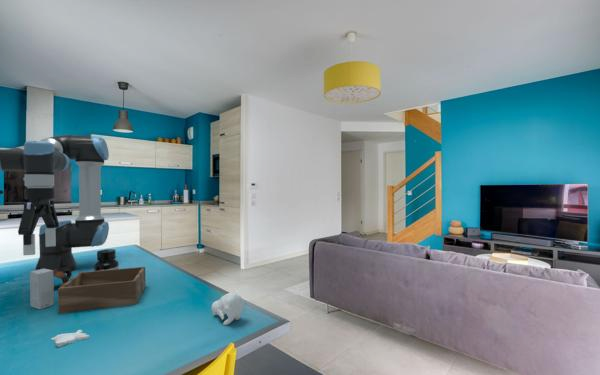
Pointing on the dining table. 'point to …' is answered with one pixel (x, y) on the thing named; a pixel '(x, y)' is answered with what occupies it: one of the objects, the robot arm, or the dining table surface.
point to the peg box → (101, 289)
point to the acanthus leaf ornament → (69, 338)
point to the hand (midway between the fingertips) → (40, 250)
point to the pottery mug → (63, 275)
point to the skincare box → (41, 288)
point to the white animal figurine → (228, 307)
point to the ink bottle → (106, 260)
